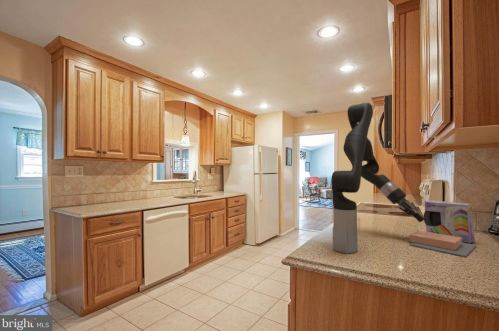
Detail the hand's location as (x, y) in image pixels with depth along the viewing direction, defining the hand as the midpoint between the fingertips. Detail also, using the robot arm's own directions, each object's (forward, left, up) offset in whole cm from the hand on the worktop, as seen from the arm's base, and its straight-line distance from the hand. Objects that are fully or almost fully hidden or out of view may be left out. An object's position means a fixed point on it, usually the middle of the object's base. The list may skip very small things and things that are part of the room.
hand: (422, 220), depth 108 cm
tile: (0, +3, -7) cm, 8 cm away
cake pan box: (+18, -5, -10) cm, 21 cm away
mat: (0, -7, -10) cm, 12 cm away
